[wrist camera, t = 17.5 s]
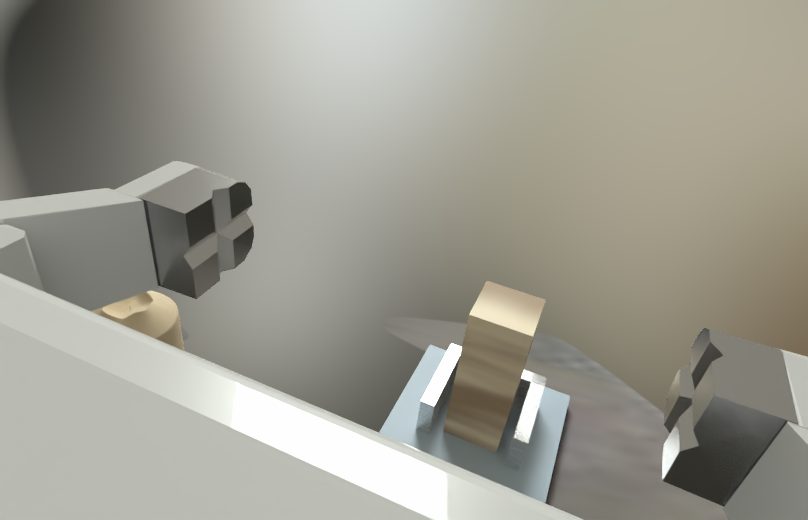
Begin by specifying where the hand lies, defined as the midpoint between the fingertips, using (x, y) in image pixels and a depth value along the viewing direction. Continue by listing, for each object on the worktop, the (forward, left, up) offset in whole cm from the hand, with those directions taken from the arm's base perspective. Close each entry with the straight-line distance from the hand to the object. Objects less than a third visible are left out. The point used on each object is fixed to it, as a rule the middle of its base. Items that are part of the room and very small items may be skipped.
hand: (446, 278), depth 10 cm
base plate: (+15, -14, -28) cm, 35 cm away
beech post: (+15, -14, -27) cm, 34 cm away
